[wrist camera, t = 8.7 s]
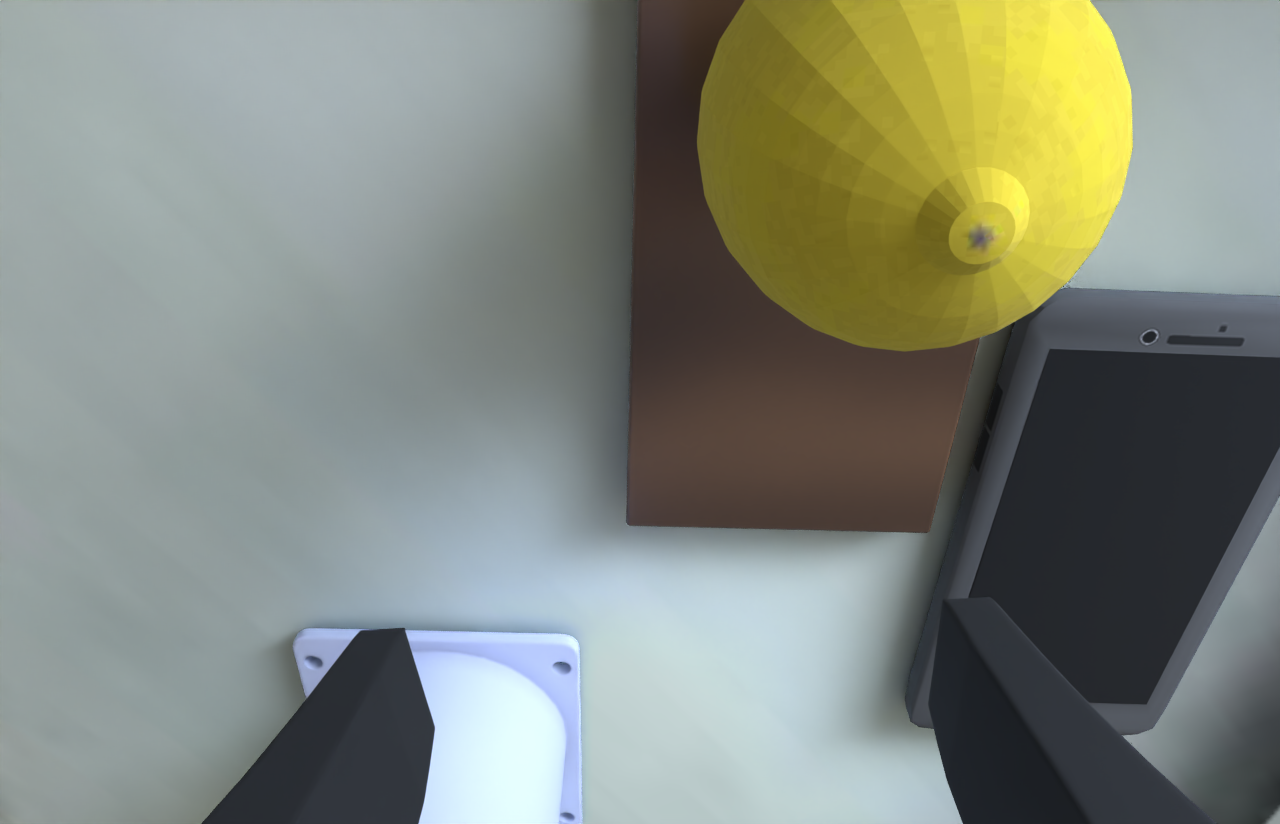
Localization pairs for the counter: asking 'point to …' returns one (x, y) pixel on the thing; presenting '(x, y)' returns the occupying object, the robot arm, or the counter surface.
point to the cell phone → (1118, 487)
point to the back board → (755, 351)
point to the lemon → (914, 159)
